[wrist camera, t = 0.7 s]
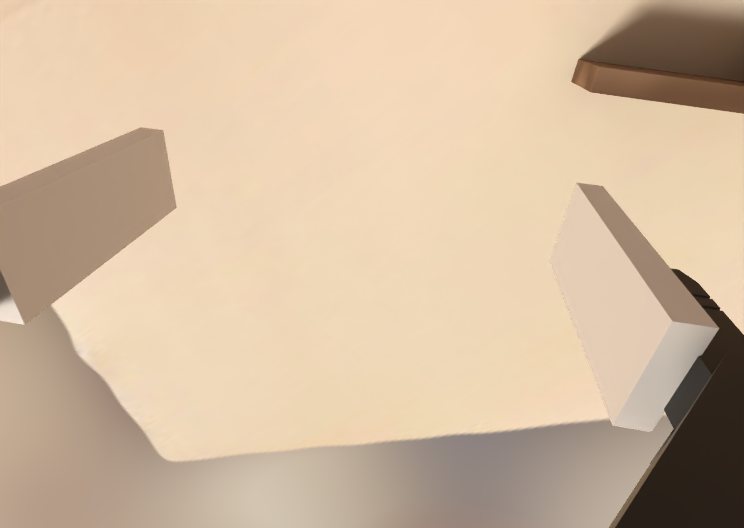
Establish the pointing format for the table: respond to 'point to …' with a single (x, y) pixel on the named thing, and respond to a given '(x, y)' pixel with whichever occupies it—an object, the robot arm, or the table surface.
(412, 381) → the table surface
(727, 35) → the table surface
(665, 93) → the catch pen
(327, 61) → the table surface
